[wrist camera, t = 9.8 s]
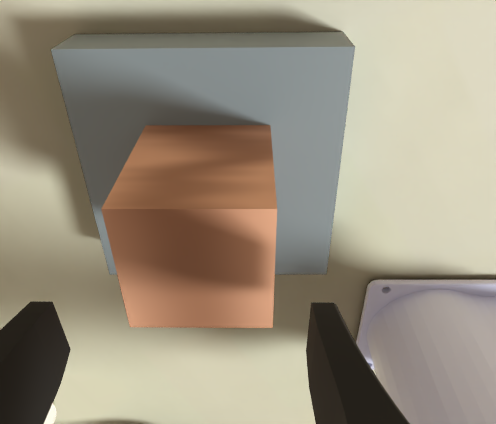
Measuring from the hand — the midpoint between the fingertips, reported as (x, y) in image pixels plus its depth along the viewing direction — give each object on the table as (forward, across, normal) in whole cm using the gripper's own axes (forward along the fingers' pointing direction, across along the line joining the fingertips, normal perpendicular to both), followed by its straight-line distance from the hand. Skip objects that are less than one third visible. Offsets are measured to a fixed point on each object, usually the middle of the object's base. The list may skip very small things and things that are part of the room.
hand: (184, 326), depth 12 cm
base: (+10, 0, 0) cm, 10 cm away
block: (+8, 0, 0) cm, 8 cm away
